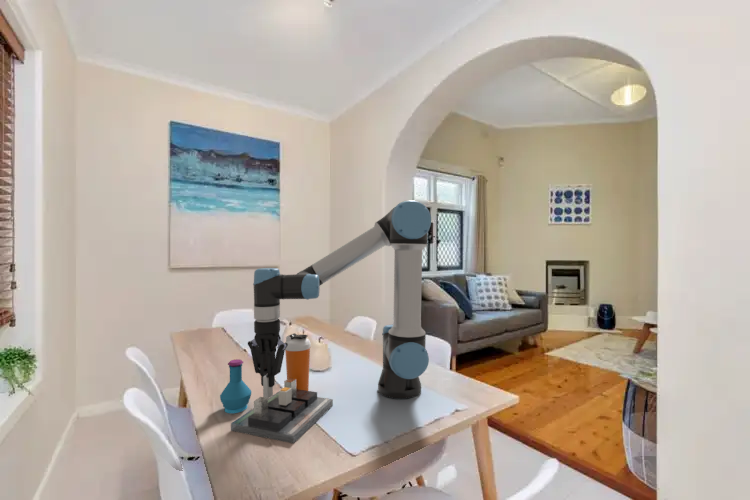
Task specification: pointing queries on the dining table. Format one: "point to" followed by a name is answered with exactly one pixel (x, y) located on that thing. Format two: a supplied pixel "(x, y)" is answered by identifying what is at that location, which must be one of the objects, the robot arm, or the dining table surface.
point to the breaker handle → (285, 396)
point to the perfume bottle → (235, 390)
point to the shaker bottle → (298, 360)
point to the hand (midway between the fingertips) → (268, 396)
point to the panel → (288, 427)
